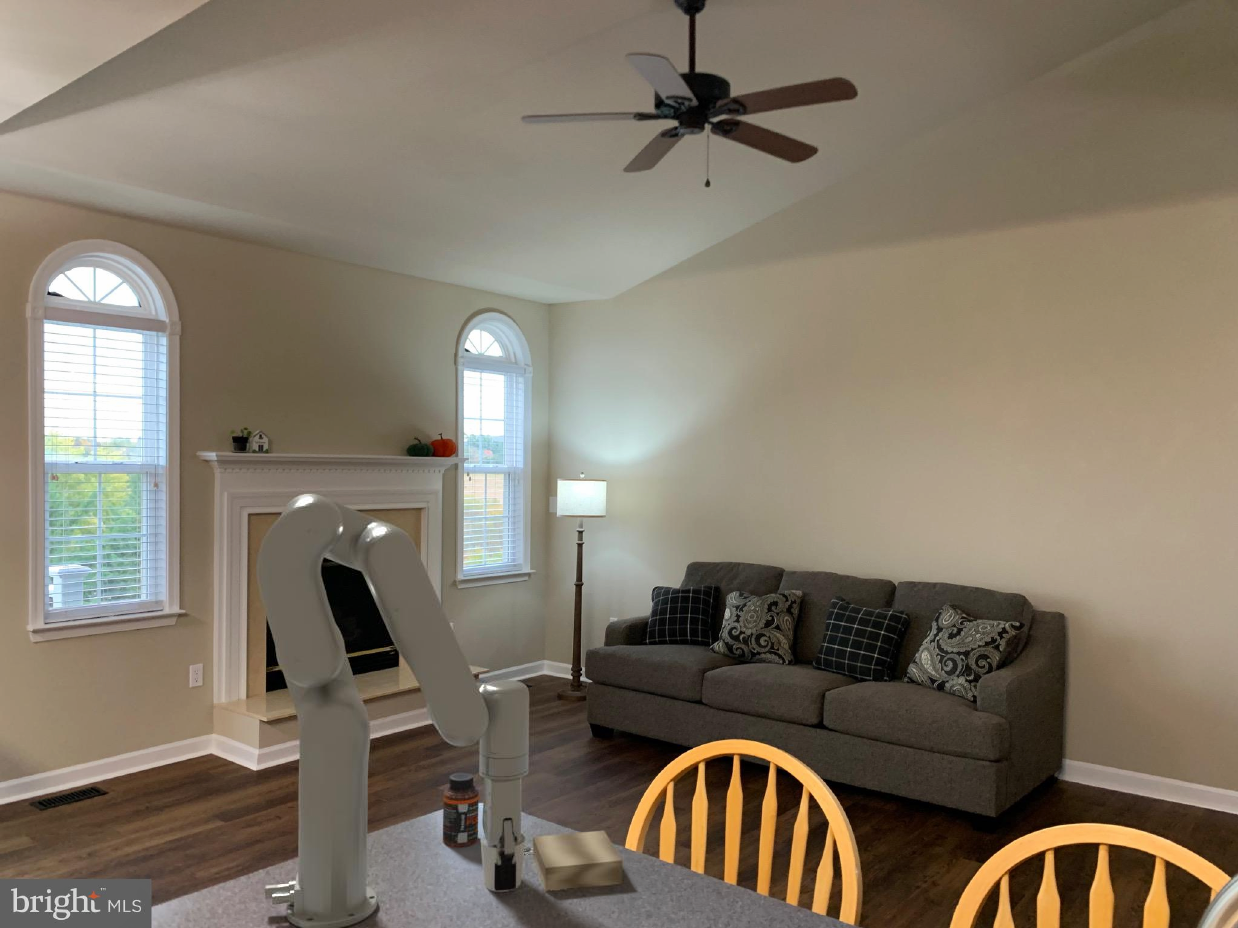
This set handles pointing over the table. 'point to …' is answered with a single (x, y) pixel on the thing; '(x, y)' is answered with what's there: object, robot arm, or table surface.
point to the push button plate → (527, 849)
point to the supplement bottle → (460, 811)
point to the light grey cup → (491, 858)
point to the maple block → (577, 860)
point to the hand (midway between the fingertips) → (502, 878)
